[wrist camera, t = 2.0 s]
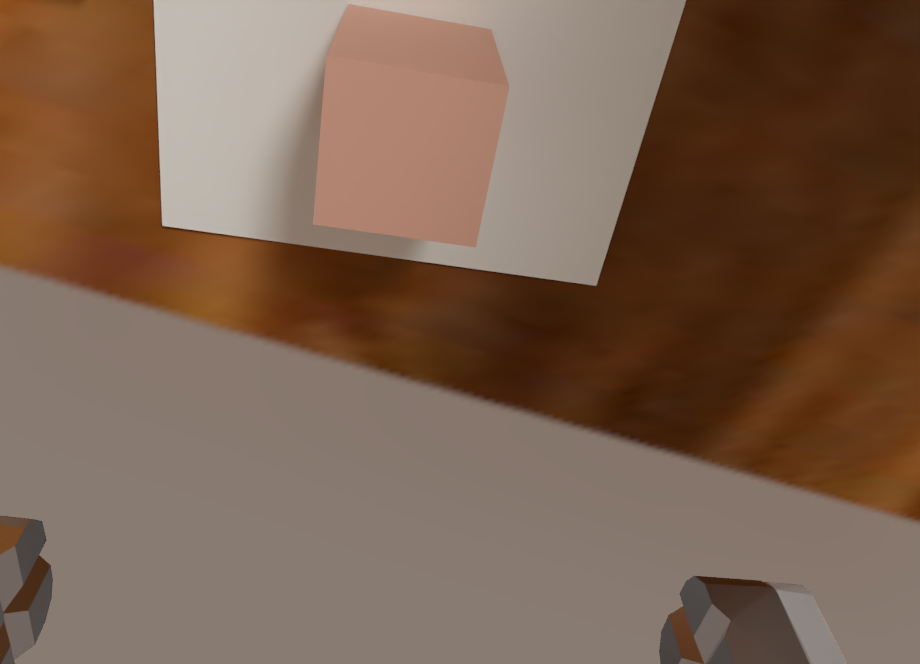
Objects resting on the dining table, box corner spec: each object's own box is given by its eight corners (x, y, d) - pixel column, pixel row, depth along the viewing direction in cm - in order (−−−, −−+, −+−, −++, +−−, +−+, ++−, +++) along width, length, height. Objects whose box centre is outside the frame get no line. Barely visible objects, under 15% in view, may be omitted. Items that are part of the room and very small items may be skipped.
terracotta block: (491, 29, 27) (509, 86, 21) (465, 163, 30) (475, 247, 24) (348, 3, 26) (325, 55, 20) (335, 143, 29) (312, 224, 23)
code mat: (709, -78, 25) (711, -78, 25) (595, 284, 33) (596, 286, 33) (147, -194, 23) (145, -193, 23) (163, 224, 31) (161, 226, 31)
